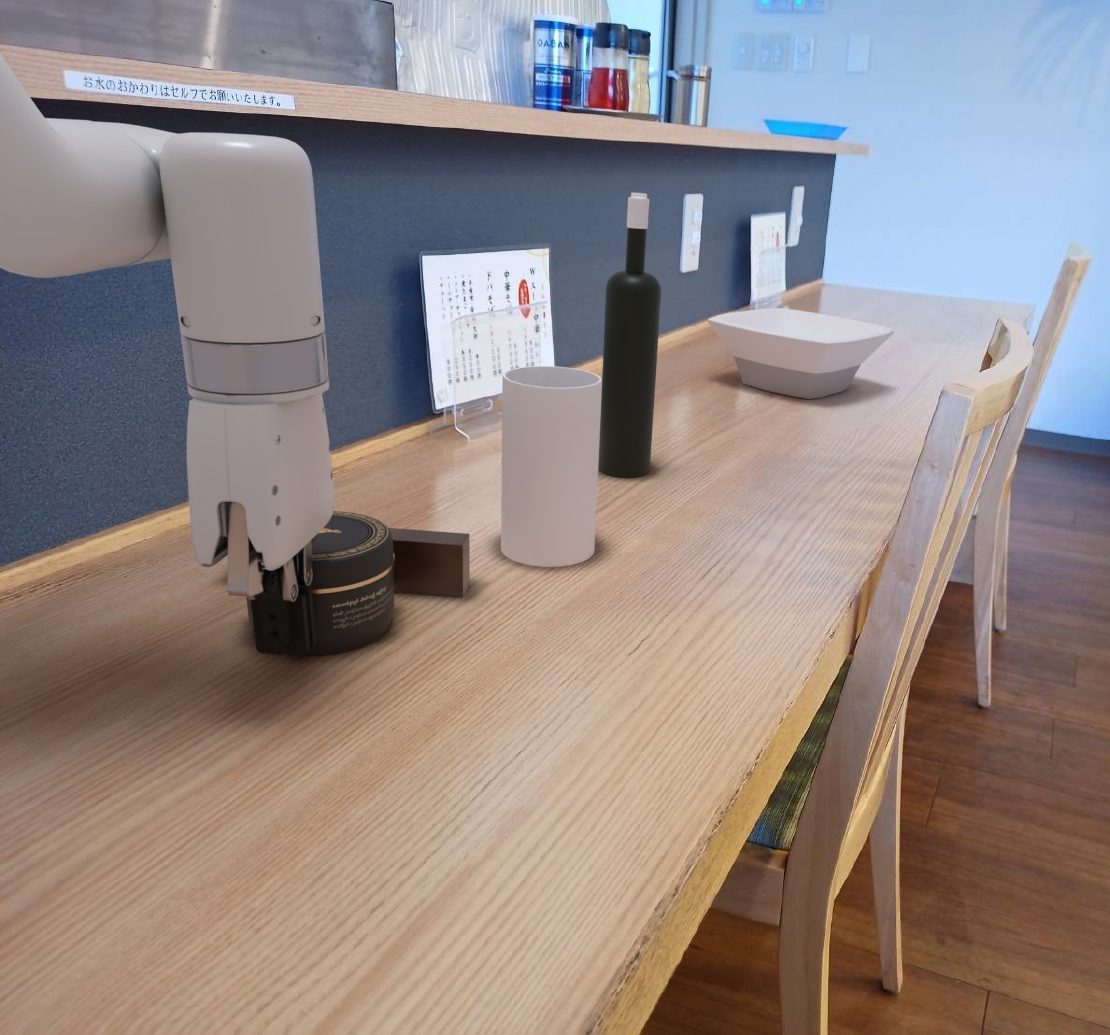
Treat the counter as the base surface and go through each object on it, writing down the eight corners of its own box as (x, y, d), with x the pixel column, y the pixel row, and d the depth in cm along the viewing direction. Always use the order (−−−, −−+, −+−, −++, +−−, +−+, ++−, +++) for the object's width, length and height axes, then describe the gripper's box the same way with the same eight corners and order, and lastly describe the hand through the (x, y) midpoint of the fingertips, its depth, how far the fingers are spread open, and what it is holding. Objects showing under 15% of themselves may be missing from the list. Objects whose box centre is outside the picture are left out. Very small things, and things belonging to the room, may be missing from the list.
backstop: (231, 586, 76) (225, 527, 75) (245, 574, 79) (239, 516, 77) (463, 604, 77) (462, 544, 75) (469, 591, 79) (469, 533, 77)
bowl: (689, 382, 156) (694, 317, 152) (774, 363, 175) (780, 305, 172) (821, 414, 143) (830, 344, 139) (897, 390, 162) (907, 328, 158)
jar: (219, 632, 70) (209, 532, 67) (340, 590, 77) (335, 498, 75) (305, 681, 64) (297, 575, 62) (425, 630, 72) (423, 534, 69)
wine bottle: (659, 475, 110) (678, 196, 100) (625, 486, 106) (641, 195, 96) (622, 463, 114) (637, 191, 103) (587, 473, 109) (598, 190, 99)
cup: (612, 552, 89) (621, 378, 83) (554, 580, 82) (559, 393, 76) (542, 529, 93) (546, 361, 87) (481, 554, 86) (481, 374, 80)
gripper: (250, 337, 63) (277, 595, 70) (118, 390, 49) (167, 707, 56) (366, 344, 63) (382, 602, 70) (267, 398, 49) (299, 715, 56)
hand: (286, 648), depth 63 cm, fingers closed
